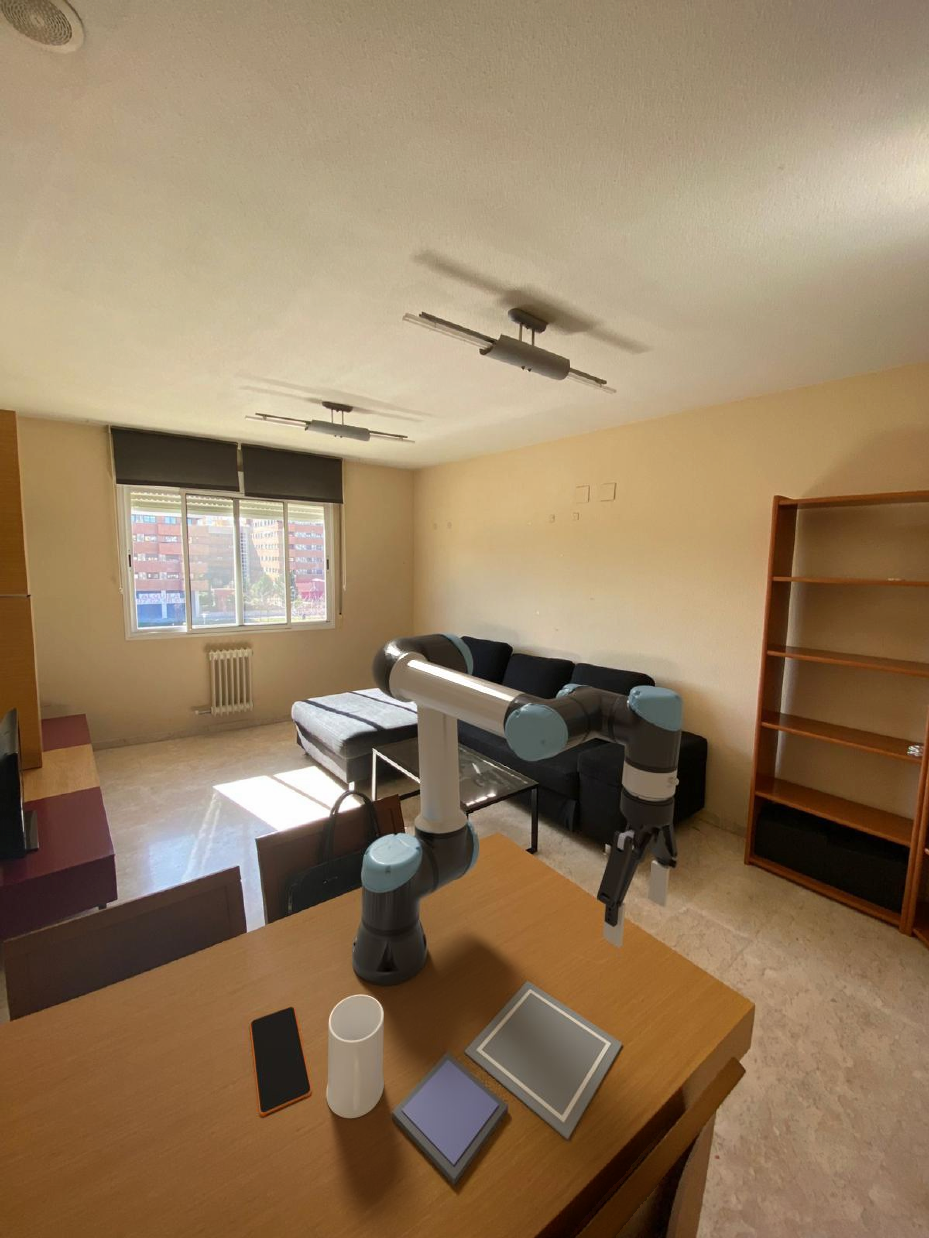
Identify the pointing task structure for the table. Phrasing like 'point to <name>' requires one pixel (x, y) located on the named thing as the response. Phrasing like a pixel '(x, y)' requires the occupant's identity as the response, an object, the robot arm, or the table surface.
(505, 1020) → the print mat
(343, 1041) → the mug
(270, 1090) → the smartphone
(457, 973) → the table surface
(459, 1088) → the ink pad
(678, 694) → the robot arm
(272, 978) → the table surface
